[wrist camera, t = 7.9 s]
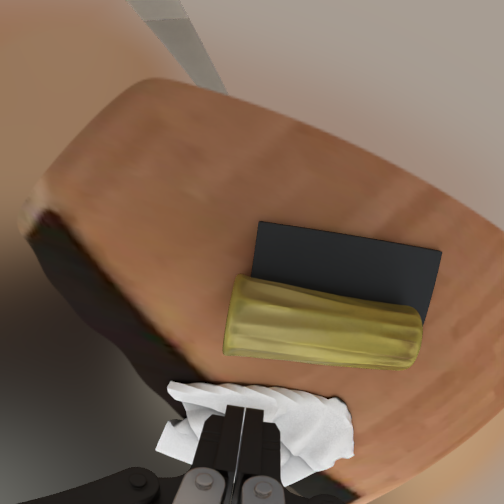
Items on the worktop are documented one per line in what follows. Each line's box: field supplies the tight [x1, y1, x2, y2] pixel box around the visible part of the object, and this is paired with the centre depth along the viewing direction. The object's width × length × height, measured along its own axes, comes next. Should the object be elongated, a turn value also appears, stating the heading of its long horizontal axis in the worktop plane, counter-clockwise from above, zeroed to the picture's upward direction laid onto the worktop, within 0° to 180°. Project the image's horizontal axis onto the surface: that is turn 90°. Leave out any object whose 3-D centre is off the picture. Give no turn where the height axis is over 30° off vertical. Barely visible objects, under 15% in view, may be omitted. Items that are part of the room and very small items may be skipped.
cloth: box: [156, 381, 354, 487], centre depth 28 cm, size 20×22×2 cm
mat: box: [251, 221, 442, 327], centre depth 26 cm, size 11×16×1 cm
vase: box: [223, 274, 423, 370], centre depth 23 cm, size 6×6×14 cm
